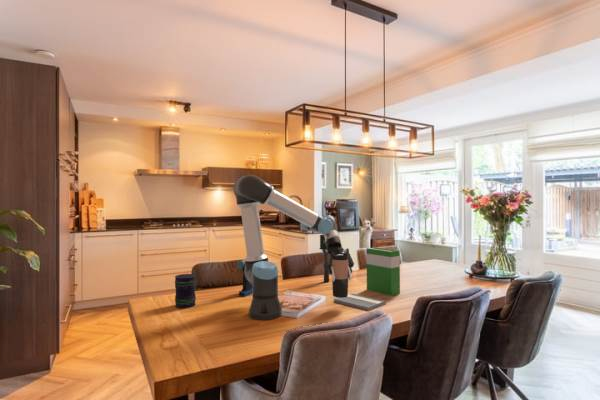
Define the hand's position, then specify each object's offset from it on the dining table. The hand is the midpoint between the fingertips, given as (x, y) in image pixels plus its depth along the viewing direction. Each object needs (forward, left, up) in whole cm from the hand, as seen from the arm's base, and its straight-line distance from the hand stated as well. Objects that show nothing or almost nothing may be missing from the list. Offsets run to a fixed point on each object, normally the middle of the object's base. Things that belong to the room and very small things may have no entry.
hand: (342, 279), depth 165 cm
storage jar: (-47, +63, -15) cm, 80 cm away
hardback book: (+44, +6, -15) cm, 47 cm away
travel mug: (+2, +3, -9) cm, 9 cm away
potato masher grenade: (+40, +45, -15) cm, 62 cm away
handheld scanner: (-12, +58, -15) cm, 61 cm away
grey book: (+17, +2, -15) cm, 22 cm away
